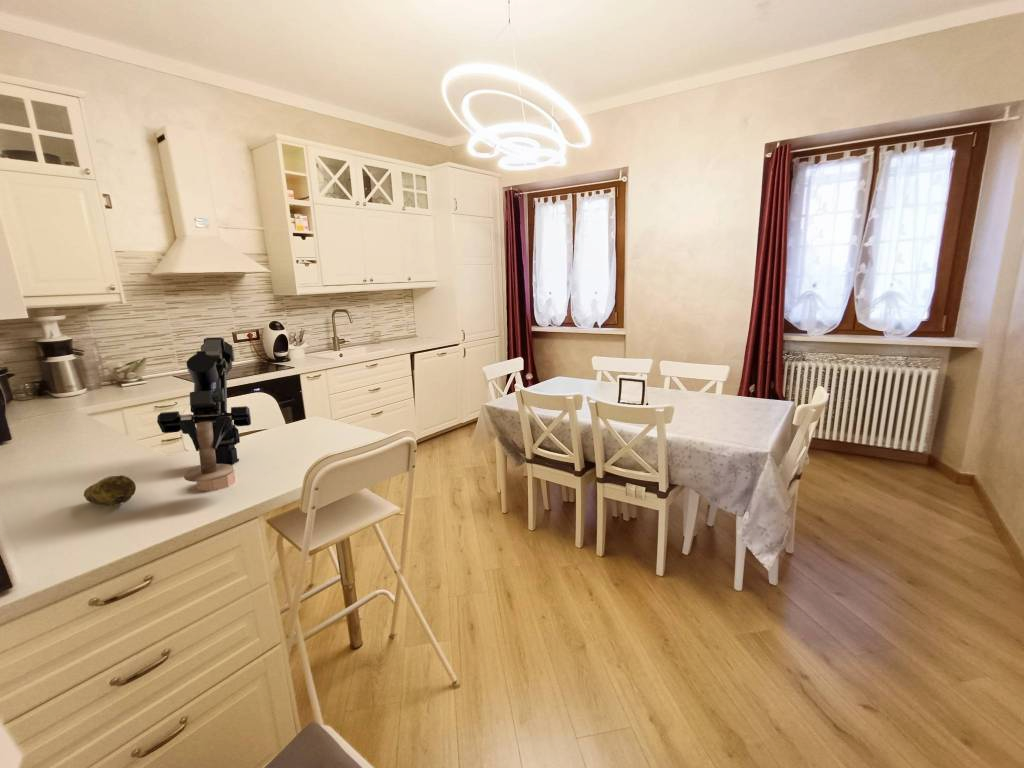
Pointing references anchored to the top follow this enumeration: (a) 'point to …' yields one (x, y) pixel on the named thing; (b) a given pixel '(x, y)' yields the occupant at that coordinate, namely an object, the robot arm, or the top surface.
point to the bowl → (217, 482)
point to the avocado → (111, 490)
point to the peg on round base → (207, 457)
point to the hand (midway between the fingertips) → (205, 449)
